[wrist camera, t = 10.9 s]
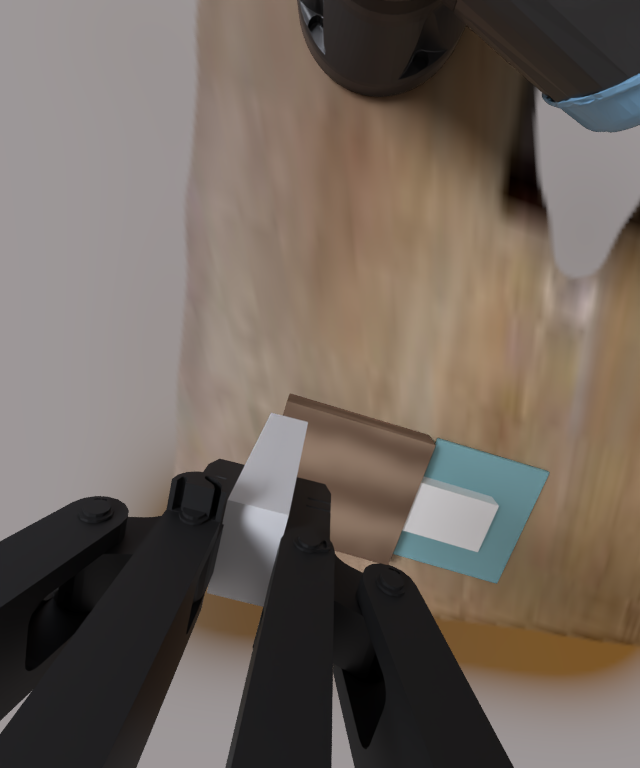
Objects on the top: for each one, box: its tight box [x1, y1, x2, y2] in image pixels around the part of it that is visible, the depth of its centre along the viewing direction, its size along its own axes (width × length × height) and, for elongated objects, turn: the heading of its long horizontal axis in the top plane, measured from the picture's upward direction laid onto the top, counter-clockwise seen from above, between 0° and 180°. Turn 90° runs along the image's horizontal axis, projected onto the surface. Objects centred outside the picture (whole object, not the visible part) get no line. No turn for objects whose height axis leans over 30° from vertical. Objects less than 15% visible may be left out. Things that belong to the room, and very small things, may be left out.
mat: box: [393, 438, 549, 584], centre depth 47 cm, size 15×13×1 cm
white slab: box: [402, 476, 499, 552], centre depth 45 cm, size 6×9×2 cm, turn 73°
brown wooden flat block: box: [283, 394, 436, 565], centre depth 45 cm, size 15×16×3 cm
